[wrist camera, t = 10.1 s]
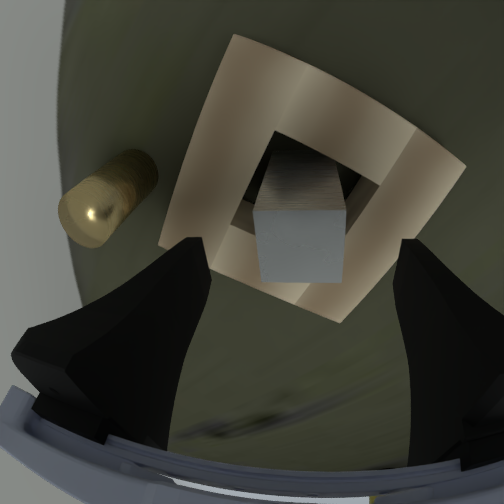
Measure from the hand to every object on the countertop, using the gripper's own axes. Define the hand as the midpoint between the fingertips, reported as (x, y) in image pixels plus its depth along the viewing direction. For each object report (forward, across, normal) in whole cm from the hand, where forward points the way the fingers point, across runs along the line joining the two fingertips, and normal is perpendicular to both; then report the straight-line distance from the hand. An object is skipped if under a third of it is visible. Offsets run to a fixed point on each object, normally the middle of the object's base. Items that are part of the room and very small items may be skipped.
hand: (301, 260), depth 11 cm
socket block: (+7, 0, 0) cm, 7 cm away
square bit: (+8, 0, 0) cm, 8 cm away
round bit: (+7, +10, -1) cm, 13 cm away
